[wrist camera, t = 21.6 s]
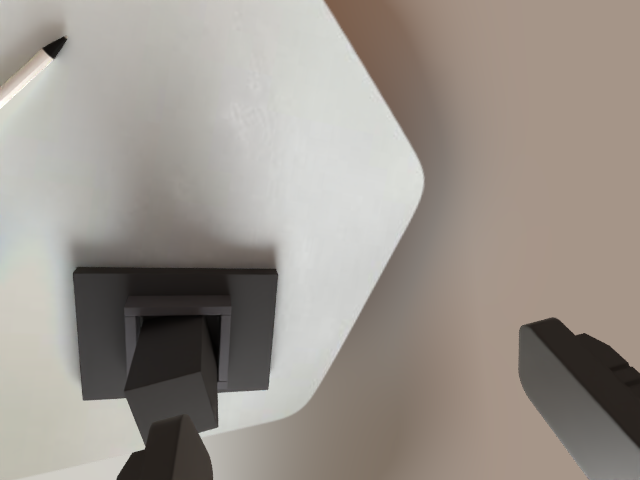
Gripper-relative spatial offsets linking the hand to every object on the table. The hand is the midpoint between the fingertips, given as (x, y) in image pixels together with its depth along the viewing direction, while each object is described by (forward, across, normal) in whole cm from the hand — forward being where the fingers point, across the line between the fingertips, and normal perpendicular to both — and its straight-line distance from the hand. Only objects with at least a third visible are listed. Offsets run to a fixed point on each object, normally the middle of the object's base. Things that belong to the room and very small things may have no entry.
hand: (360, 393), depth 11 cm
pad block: (+24, +13, +15) cm, 31 cm away
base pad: (+25, +13, +15) cm, 32 cm away
